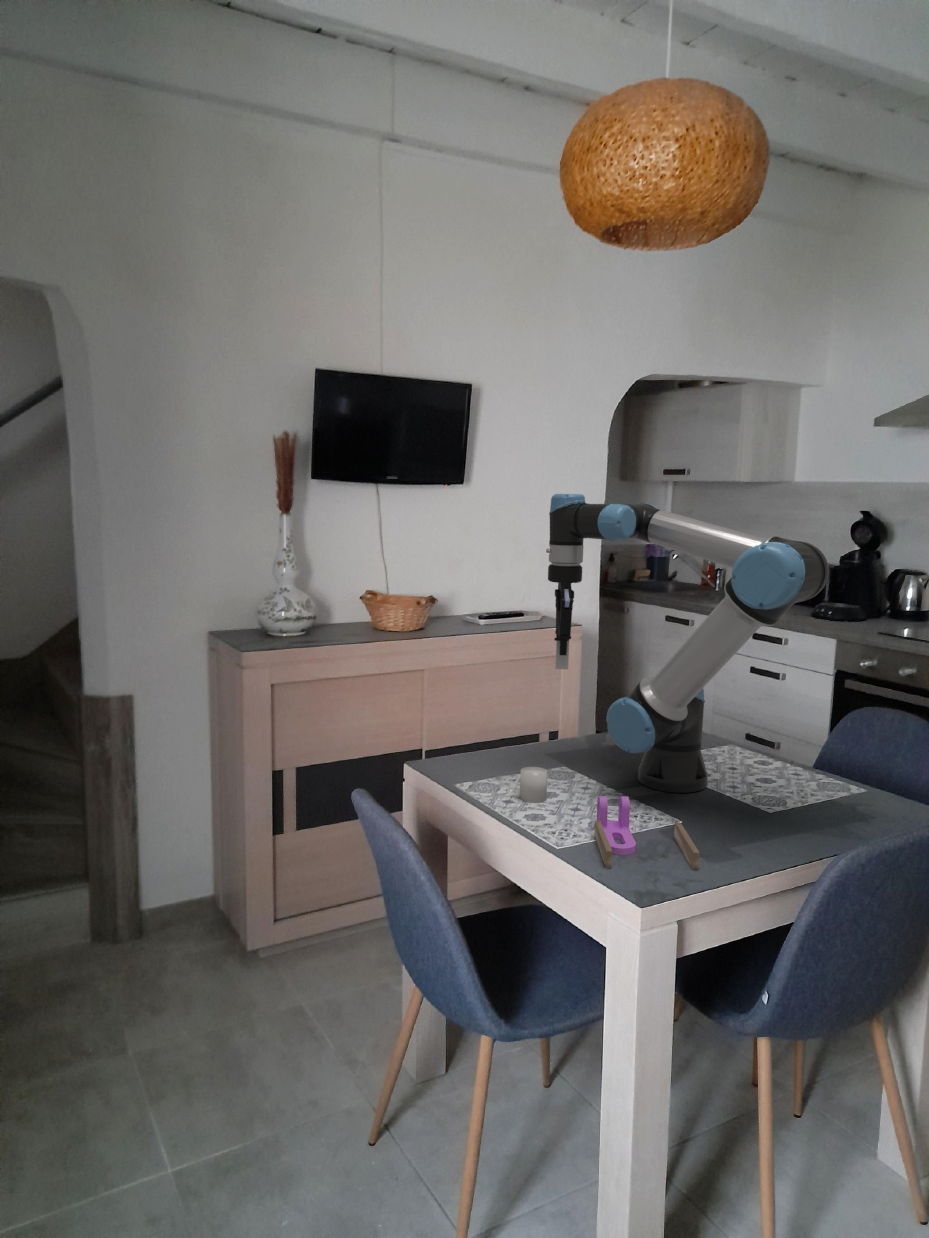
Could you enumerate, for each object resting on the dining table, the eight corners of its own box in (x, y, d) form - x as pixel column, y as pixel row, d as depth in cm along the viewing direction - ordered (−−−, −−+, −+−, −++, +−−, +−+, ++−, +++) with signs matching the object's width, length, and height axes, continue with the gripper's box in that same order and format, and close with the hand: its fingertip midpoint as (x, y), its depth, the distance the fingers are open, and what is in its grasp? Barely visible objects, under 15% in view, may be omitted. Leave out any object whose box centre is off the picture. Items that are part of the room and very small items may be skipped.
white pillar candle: (545, 794, 189) (546, 766, 188) (547, 803, 183) (548, 775, 182) (519, 793, 189) (519, 766, 188) (520, 802, 183) (521, 774, 182)
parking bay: (679, 837, 166) (680, 822, 166) (698, 869, 152) (699, 852, 152) (594, 836, 166) (594, 820, 166) (605, 867, 152) (606, 851, 152)
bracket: (596, 827, 170) (597, 793, 169) (625, 828, 171) (626, 793, 169) (607, 855, 158) (608, 818, 157) (638, 856, 158) (640, 818, 157)
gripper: (545, 561, 202) (542, 662, 205) (551, 566, 189) (547, 674, 193) (578, 561, 202) (574, 663, 205) (586, 567, 189) (582, 674, 193)
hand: (561, 668), depth 199 cm, fingers closed
